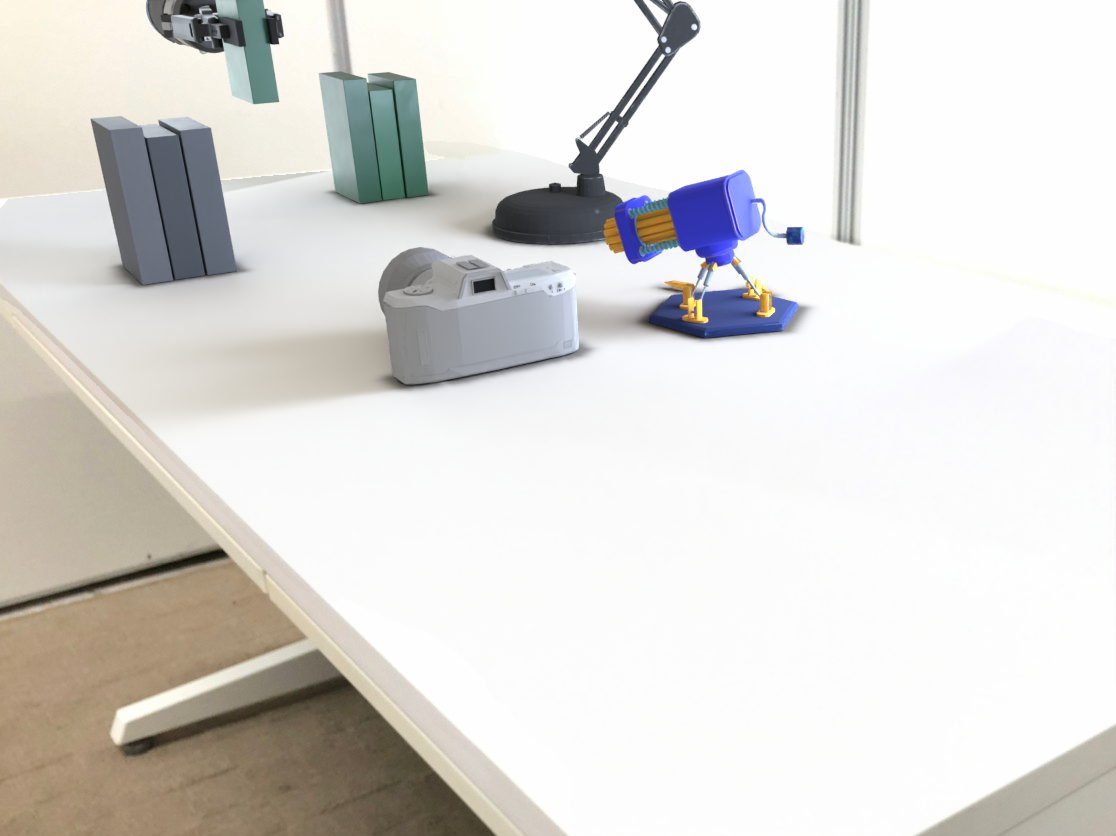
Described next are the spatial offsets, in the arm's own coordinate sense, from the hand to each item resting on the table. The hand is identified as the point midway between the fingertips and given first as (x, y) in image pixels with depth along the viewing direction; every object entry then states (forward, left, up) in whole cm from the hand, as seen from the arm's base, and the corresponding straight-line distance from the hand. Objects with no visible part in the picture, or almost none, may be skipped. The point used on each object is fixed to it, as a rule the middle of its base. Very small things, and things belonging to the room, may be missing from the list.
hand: (257, 32), depth 147 cm
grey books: (-2, -25, -20) cm, 33 cm away
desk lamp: (+33, -6, -20) cm, 40 cm away
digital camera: (+35, -51, -20) cm, 65 cm away
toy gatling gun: (+54, -38, -20) cm, 69 cm away
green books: (+7, +13, -20) cm, 25 cm away
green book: (-3, +4, -8) cm, 9 cm away
